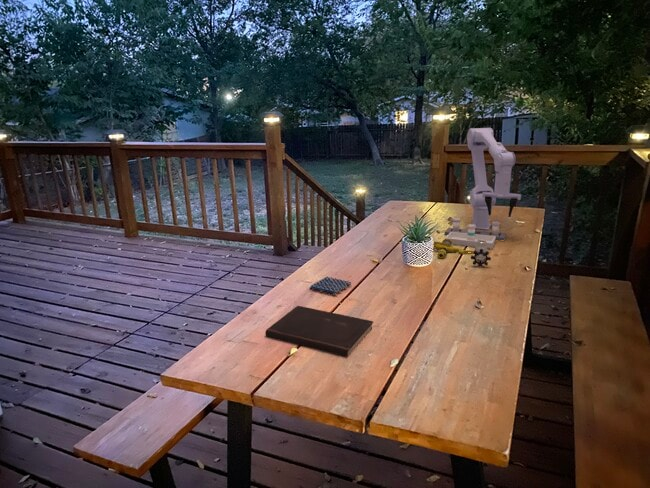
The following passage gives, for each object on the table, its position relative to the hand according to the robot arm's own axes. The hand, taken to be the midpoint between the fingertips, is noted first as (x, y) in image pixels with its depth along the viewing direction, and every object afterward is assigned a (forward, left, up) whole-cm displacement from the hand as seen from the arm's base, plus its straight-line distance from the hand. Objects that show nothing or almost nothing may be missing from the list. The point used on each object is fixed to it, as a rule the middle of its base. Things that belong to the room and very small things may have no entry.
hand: (499, 215), depth 187 cm
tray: (+12, -9, -9) cm, 18 cm away
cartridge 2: (+1, -1, -9) cm, 10 cm away
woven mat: (+75, -41, -10) cm, 86 cm away
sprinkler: (+28, -15, -10) cm, 33 cm away
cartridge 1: (+1, -17, -9) cm, 19 cm away
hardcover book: (+102, -31, -10) cm, 107 cm away
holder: (+1, -9, -9) cm, 13 cm away
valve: (+32, -2, -10) cm, 34 cm away
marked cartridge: (+12, -9, -9) cm, 17 cm away
